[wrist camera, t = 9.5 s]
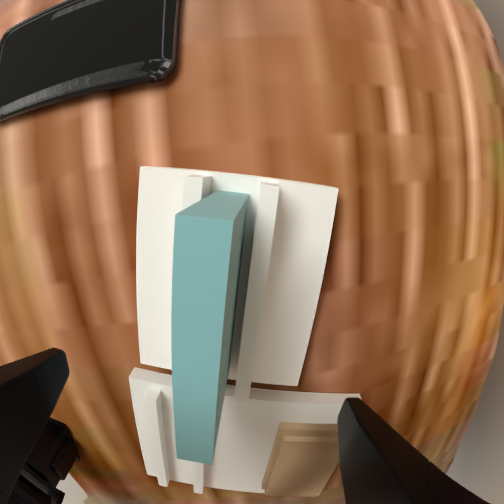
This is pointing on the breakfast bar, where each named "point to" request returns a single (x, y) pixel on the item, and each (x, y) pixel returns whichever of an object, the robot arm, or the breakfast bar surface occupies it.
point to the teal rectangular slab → (204, 316)
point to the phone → (86, 51)
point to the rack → (222, 431)
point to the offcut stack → (301, 459)
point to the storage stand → (251, 273)
